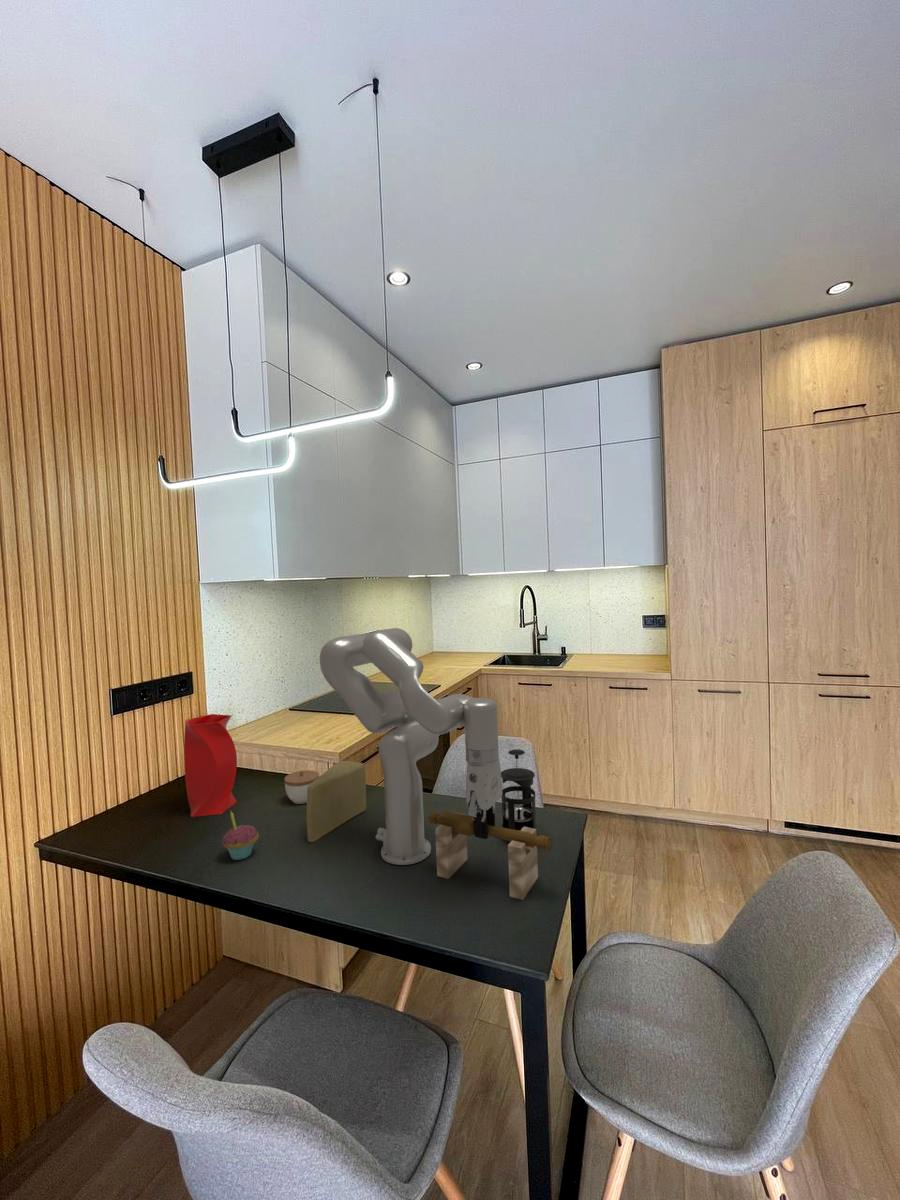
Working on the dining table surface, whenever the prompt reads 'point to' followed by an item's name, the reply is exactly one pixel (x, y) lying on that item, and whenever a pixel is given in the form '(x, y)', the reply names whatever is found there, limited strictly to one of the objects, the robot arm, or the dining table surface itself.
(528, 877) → the block
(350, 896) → the dining table surface
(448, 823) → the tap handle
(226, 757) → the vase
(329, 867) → the dining table surface
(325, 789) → the cheese
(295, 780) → the lidded jar
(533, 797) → the french press
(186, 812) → the dining table surface
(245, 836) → the cupcake
